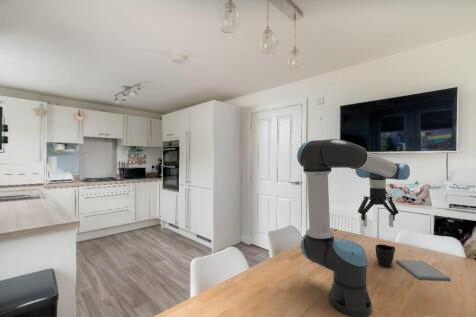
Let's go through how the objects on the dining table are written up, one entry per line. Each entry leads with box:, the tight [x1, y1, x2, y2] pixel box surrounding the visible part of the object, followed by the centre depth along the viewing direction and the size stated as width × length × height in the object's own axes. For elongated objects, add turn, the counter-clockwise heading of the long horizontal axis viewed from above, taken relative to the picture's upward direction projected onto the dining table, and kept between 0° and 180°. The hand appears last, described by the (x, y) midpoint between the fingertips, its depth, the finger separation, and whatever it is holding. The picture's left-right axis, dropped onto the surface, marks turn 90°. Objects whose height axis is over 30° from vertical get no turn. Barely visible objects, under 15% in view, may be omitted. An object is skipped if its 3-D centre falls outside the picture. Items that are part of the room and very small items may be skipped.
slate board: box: [395, 259, 451, 282], centre depth 117 cm, size 18×14×1 cm
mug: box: [375, 243, 396, 268], centre depth 124 cm, size 8×12×10 cm
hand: (377, 226), depth 126 cm, fingers open, 13 cm apart
